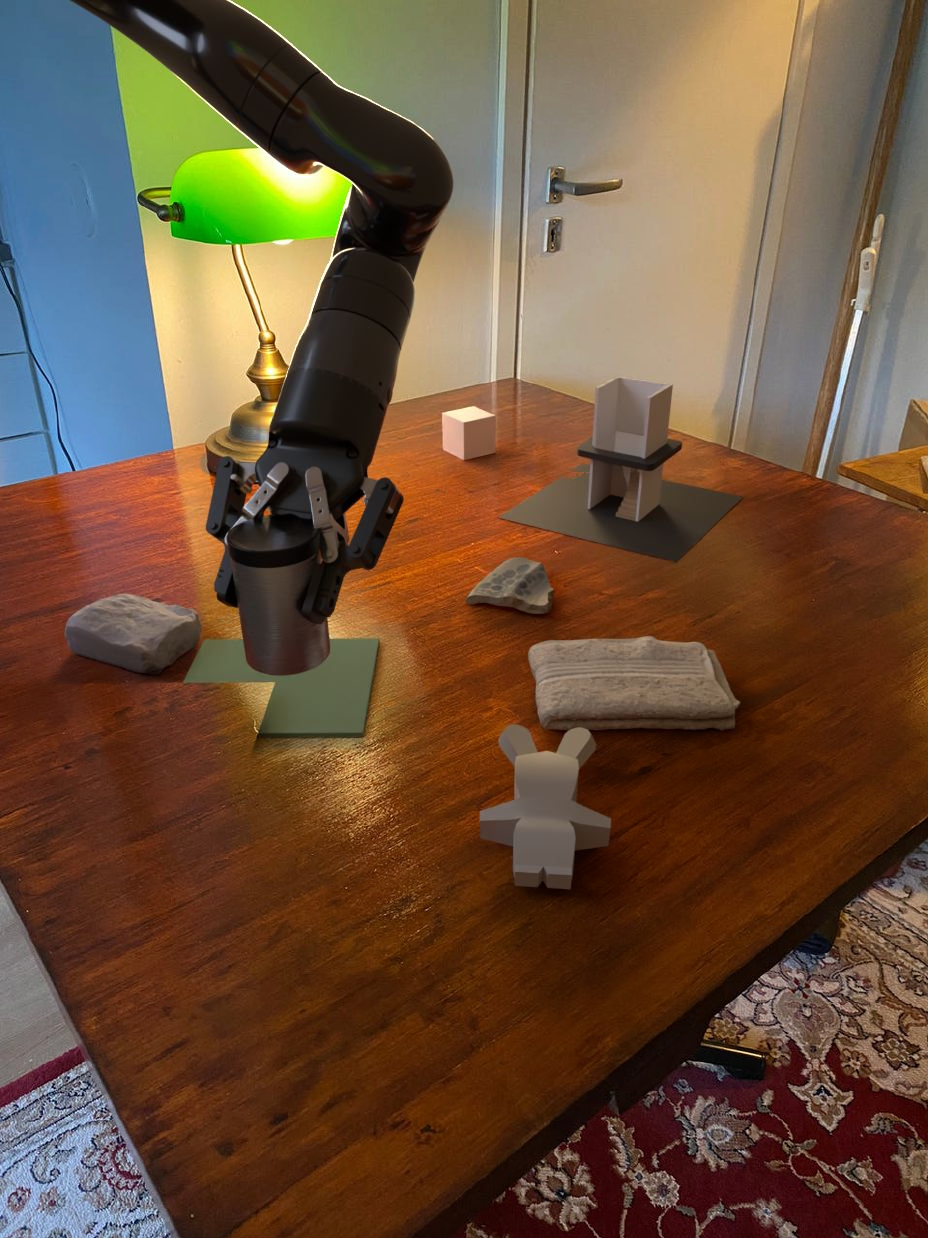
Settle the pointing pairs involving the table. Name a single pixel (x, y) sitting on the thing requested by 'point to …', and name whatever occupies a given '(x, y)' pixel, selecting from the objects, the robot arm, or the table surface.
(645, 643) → the washcloth
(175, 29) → the robot arm
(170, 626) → the stone block
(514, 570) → the ceramic fragment
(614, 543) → the box stand
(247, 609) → the thermos cup
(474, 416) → the white cube
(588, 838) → the bunny figurine
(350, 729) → the mat
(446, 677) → the table surface
